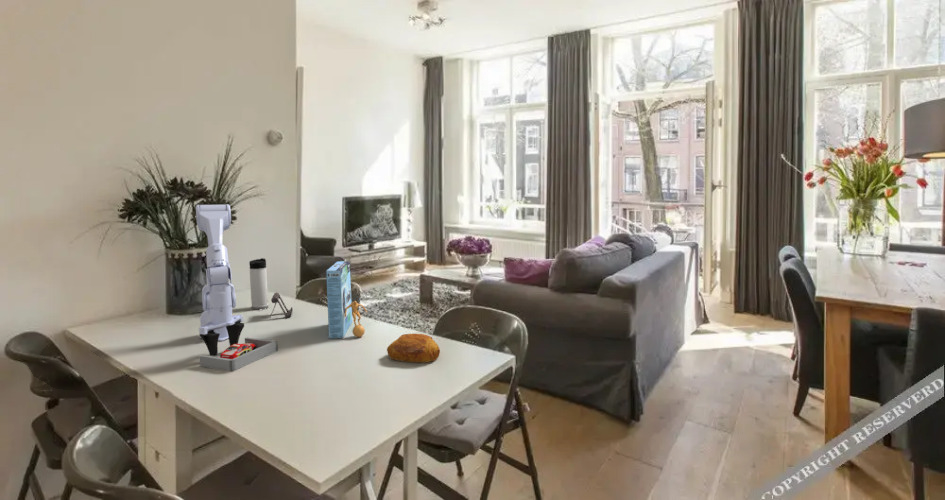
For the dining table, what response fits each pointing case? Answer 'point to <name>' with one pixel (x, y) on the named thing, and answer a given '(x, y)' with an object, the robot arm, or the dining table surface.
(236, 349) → the race car
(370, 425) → the dining table surface
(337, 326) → the blue product box
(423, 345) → the croissant
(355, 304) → the figurine
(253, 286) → the travel mug
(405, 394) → the dining table surface
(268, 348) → the grey u-shaped wall
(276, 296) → the portable electronic device stand
